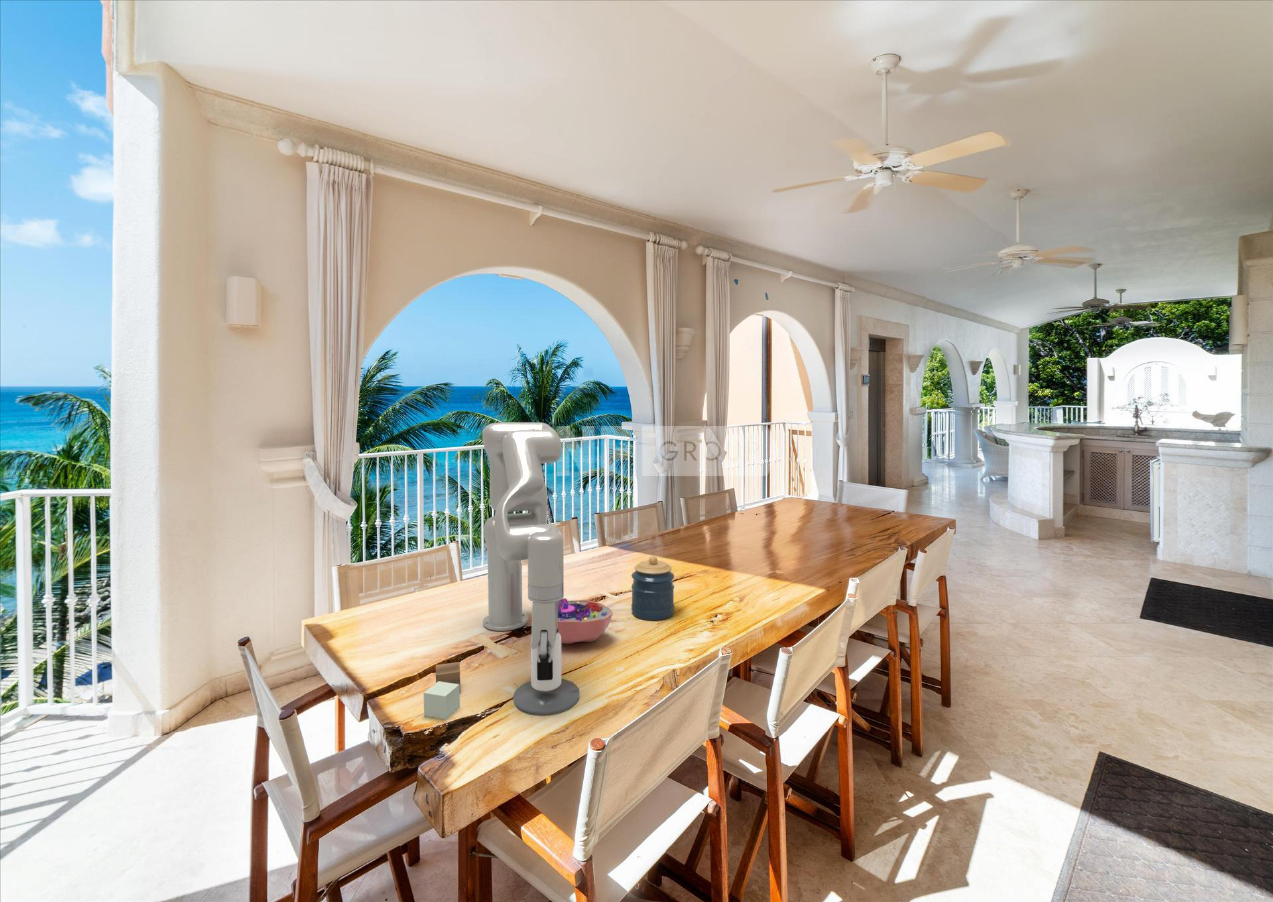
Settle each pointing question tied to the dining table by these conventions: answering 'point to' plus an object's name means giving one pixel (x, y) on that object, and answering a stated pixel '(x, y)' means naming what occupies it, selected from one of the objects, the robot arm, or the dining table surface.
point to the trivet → (546, 698)
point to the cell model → (582, 620)
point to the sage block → (441, 700)
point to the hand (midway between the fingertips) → (546, 670)
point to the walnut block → (448, 673)
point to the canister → (652, 590)
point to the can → (556, 657)
